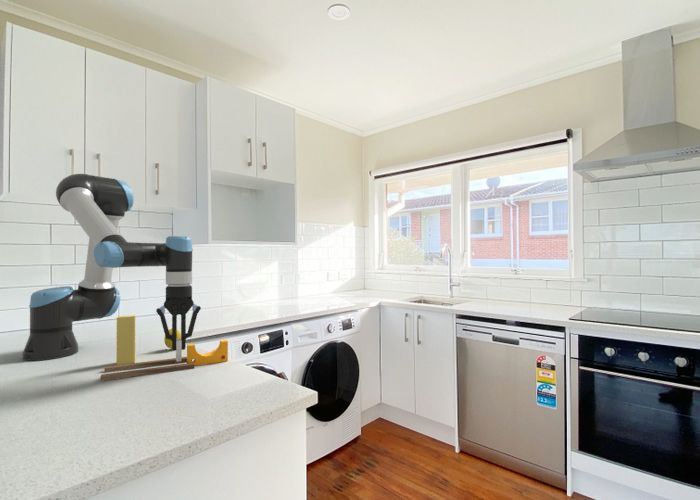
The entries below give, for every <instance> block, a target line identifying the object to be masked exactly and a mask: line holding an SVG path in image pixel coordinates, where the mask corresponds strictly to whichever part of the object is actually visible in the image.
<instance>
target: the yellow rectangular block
mask: <svg viewBox="0 0 700 500" xmlns="http://www.w3.org/2000/svg"><path fill="white" fill-rule="evenodd" d="M136 317H137V315H136V314H131V315H130V314H128V315H118V316H116V357H115V359H116V362H115V365H122V364H131V363H136V349H137V348H136V341H137V340H136V333H137V331H136V330H137V329H136V328H137V327H136V326H137V324H136Z"/></svg>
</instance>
